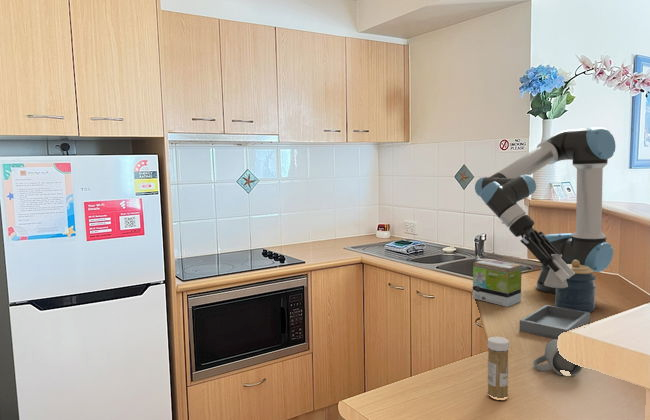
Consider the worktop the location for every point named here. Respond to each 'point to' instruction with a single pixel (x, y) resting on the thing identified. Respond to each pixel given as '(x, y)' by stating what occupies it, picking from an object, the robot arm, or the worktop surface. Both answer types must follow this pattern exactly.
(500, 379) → the sprinkles bottle
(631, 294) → the worktop surface
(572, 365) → the ceramic mug
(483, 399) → the worktop surface
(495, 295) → the tea box
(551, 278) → the flask
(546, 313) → the charcoal tray
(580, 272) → the canister
